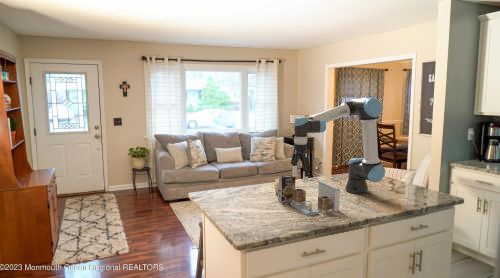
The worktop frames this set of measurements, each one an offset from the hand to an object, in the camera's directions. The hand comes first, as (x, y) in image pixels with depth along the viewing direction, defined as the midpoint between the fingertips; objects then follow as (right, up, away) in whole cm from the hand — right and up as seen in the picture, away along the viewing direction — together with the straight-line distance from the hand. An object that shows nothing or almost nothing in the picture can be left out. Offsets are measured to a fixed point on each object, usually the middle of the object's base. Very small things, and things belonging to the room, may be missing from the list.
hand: (299, 179), depth 198 cm
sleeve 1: (0, -15, +2) cm, 15 cm away
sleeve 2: (+13, -17, -7) cm, 23 cm away
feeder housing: (+17, -16, +1) cm, 24 cm away
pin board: (+2, -17, -4) cm, 18 cm away
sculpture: (-7, -13, +27) cm, 31 cm away
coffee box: (-7, -15, +11) cm, 20 cm away
